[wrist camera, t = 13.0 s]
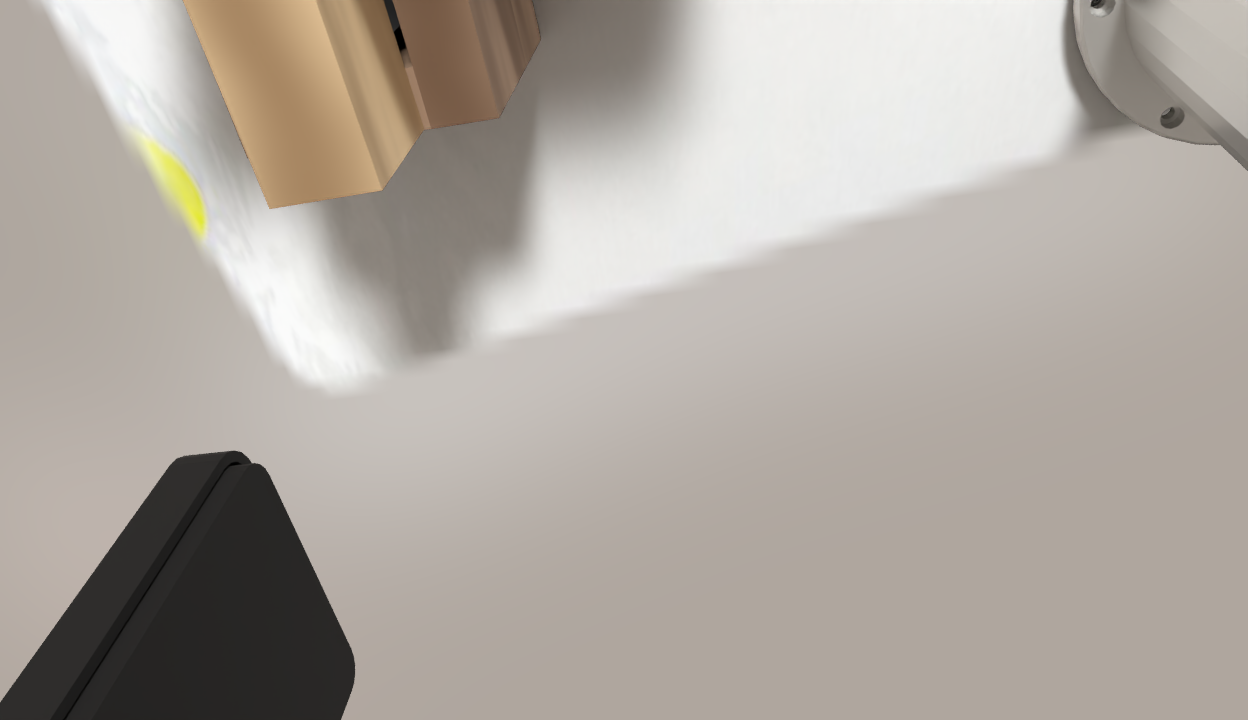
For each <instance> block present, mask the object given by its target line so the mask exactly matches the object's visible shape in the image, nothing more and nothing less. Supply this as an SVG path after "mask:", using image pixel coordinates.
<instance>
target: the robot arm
mask: <svg viewBox="0 0 1248 720" xmlns="http://www.w3.org/2000/svg"><path fill="white" fill-rule="evenodd" d="M1091 2H1092V0H1074V4H1073V15H1074V23H1075V32H1076V40H1077V44H1078V46H1079V49H1080V52H1081V55H1082V58H1083V61H1084V63H1085V66H1086V69H1087V70H1088V72H1089V73H1090V75H1091V77H1092V78H1093V80H1094V81H1095V83H1096V84H1097V86H1098V87H1099V89H1100V91H1101V92H1102V93H1103V94H1104V95H1105V96H1106V97H1107V98H1108V99H1109V100H1110V101H1111V103H1112V104H1113V105H1114V106H1115V107H1116V108H1117V109H1118V110H1119V111H1120V112H1122V113H1123V114H1124V115H1126V116H1127V117H1128V118H1130V119H1131V120H1132V121H1134V122H1135V123H1136V124H1138V125H1139V126H1141V127H1143V128H1145V129H1147V130H1149V131H1151V132H1153V133H1155V134H1157V135H1159V136H1162V137H1166V138H1169V139H1174V140H1179V141H1183V142H1187V143H1192V144H1203V145H1204V144H1205V145H1221V146H1223V148H1224V149H1225V150H1227V151H1228V152H1229V153H1230V154H1231V155H1232V156H1233V157H1234V158H1235V159H1236V160H1237V161H1238V162H1239V163H1240V164H1241V165H1242V166H1243V167H1244V168H1245V169H1246V170H1247V171H1248V0H1102V1H1101V2H1100V3H1099V4H1098V5H1095V6H1091ZM1168 108H1171V109H1170V111H1169V112H1168V113H1167V114H1166V115H1162V113H1163V112H1164V111H1165V110H1166V109H1168ZM354 678H355V662H354V656H353V653H352V650H351V648H350V646H349V643H348V641H347V639H346V637H345V635H344V633H343V630H342V628H341V626H340V624H339V622H338V620H337V618H336V616H335V614H334V612H333V609H332V607H331V605H330V603H329V601H328V599H327V597H326V595H325V592H324V590H323V588H322V586H321V584H320V582H319V579H318V577H317V575H316V573H315V571H314V569H313V567H312V565H311V563H310V561H309V558H308V556H307V554H306V552H305V550H304V548H303V545H302V543H301V541H300V539H299V537H298V535H297V533H296V531H295V528H294V526H293V524H292V522H291V520H290V518H289V516H288V514H287V511H286V509H285V507H284V505H283V503H282V501H281V499H280V497H279V495H278V492H277V490H276V488H275V486H274V484H273V482H272V480H271V478H270V475H269V474H268V472H267V471H266V469H265V468H264V467H263V466H262V465H260V464H256V463H251V461H250V460H249V458H247V456H245V455H244V454H243V453H242V452H238V451H227V452H217V453H208V454H199V455H189V456H183V457H180V458H177V459H176V460H175V461H174V462H173V463H172V464H171V465H170V466H169V467H168V469H167V470H166V472H165V473H164V475H163V476H162V477H161V479H160V480H159V481H158V483H157V484H156V486H155V487H154V488H153V490H152V491H151V493H150V494H149V496H148V497H147V498H146V499H145V501H144V502H143V504H142V505H141V506H140V508H139V509H138V511H137V512H136V514H135V515H134V516H133V518H132V519H131V520H130V522H129V523H128V525H127V526H126V527H125V529H124V530H123V532H122V533H121V534H120V536H119V537H118V539H117V540H116V541H115V543H114V544H113V546H112V547H111V548H110V550H109V551H108V553H107V554H106V555H105V557H104V558H103V560H102V561H101V562H100V564H99V565H98V567H97V568H96V569H95V571H94V572H93V574H92V575H91V576H90V578H89V579H88V581H87V582H86V584H85V585H84V586H83V588H82V589H81V591H80V592H79V593H78V595H77V596H76V597H75V599H74V600H73V602H72V603H71V604H70V606H69V607H68V609H67V610H66V611H65V613H64V614H63V616H62V617H61V619H60V620H59V621H58V622H57V624H56V625H55V627H54V628H53V630H52V631H51V632H50V634H49V635H48V636H47V638H46V639H45V641H44V642H43V643H42V645H41V646H40V648H39V649H38V651H37V652H36V653H35V655H34V656H33V657H32V659H31V660H30V662H29V663H28V664H27V666H26V667H25V669H24V670H23V671H22V673H21V674H20V676H19V677H18V679H17V680H16V682H15V683H14V684H13V685H12V687H11V688H10V690H9V691H8V692H7V694H6V695H5V697H4V698H3V700H2V701H1V702H0V720H341V718H342V715H343V713H344V710H345V707H346V705H347V702H348V699H349V697H350V694H351V691H352V688H353V684H354Z"/></svg>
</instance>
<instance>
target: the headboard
mask: <svg viewBox="0 0 1248 720" xmlns="http://www.w3.org/2000/svg"><path fill="white" fill-rule="evenodd" d="M393 3H394V7H395V10H396V13H397V17H398V20H399V23H400V26H399V27H398V28H397V29H396V30H395V31H394V35H395V38H396V41H397V45H398V48H399V51H400V54H401V57H402V60H403V63H404V67H405V70H406V73H407V76H408V79H409V82H410V85H411V89H412V92H413V95H414V98H415V101H416V104H417V107H418V111H419V114H420V117H421V120H422V123H423V126H424V130H428V129H434V128H440V127H446V126H453V125H459V124H465V123H471V122H478V121H484V120H490V119H496V118H499V117H500V116H501V114H502V112H503V110H504V108H505V106H506V104H507V102H508V100H509V99H510V97H511V95H512V93H513V91H514V89H515V87H516V85H517V83H518V82H519V80H520V78H521V76H522V74H523V72H524V70H525V68H526V67H527V65H528V63H529V61H530V59H531V57H532V55H533V53H534V51H535V50H536V48H537V46H538V44H539V42H540V40H541V37H540V32H539V28H538V24H537V19H536V15H535V11H534V7H533V2H532V0H393ZM219 89H220V88H219ZM221 94H222V93H221ZM223 99H224V98H223ZM224 101H225V100H224ZM226 106H227V105H226ZM228 111H229V110H228ZM229 113H230V112H229ZM230 116H231V115H230ZM231 118H232V117H231ZM232 121H233V120H232ZM233 123H234V122H233ZM234 126H235V124H234ZM235 128H236V127H235ZM236 131H237V129H236ZM237 133H238V132H237ZM238 136H239V134H238ZM239 138H240V137H239ZM240 141H241V139H240ZM241 143H242V141H241ZM242 146H243V144H242ZM243 148H244V146H243ZM244 151H245V149H244ZM245 153H246V151H245ZM246 156H247V153H246ZM247 158H248V156H247Z"/></svg>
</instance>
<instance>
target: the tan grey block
mask: <svg viewBox="0 0 1248 720" xmlns="http://www.w3.org/2000/svg"><path fill="white" fill-rule="evenodd" d="M183 2H184V4H185V7H186V9H187V12H188V14H189V16H190V19H191V21H192V24H193V26H194V28H195V31H196V33H197V36H198V38H199V40H200V43H201V45H202V48H203V50H204V52H205V55H206V57H207V60H208V62H209V64H210V67H211V69H212V72H213V74H214V76H215V79H216V81H217V84H218V86H219V88H220V91H221V93H222V96H223V98H224V100H225V103H226V105H227V108H228V110H229V112H230V115H231V117H232V120H233V122H234V124H235V127H236V129H237V132H238V134H239V137H240V139H241V141H242V144H243V146H244V149H245V151H246V153H247V156H248V158H249V161H250V163H251V165H252V168H253V170H254V173H255V175H256V177H257V180H258V182H259V185H260V187H261V189H262V192H263V194H264V197H265V199H266V201H267V204H268V206H269V209H273V208H279V207H285V206H291V205H297V204H303V203H309V202H315V201H321V200H327V199H334V198H340V197H346V196H352V195H358V194H364V193H370V192H376V191H382V190H383V189H384V187H385V186H386V184H387V183H388V182H389V180H390V179H391V177H392V176H393V174H394V173H395V171H396V170H397V168H398V167H399V165H400V164H401V163H402V161H403V160H404V158H405V157H406V155H407V154H408V152H409V151H410V149H411V148H412V146H413V145H414V144H415V142H416V141H417V139H418V138H419V136H420V135H421V133H422V132H423V130H424V126H423V123H422V120H421V117H420V114H419V111H418V107H417V104H416V101H415V98H414V95H413V92H412V89H411V85H410V82H409V79H408V76H407V73H406V70H405V67H404V63H403V60H402V57H401V54H400V51H399V48H398V45H397V41H396V38H395V35H394V31H395V30H396V29H397V28H398V27H399V26H400V23H399V20H398V17H397V13H396V10H395V7H394V3H393V0H183Z"/></svg>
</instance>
